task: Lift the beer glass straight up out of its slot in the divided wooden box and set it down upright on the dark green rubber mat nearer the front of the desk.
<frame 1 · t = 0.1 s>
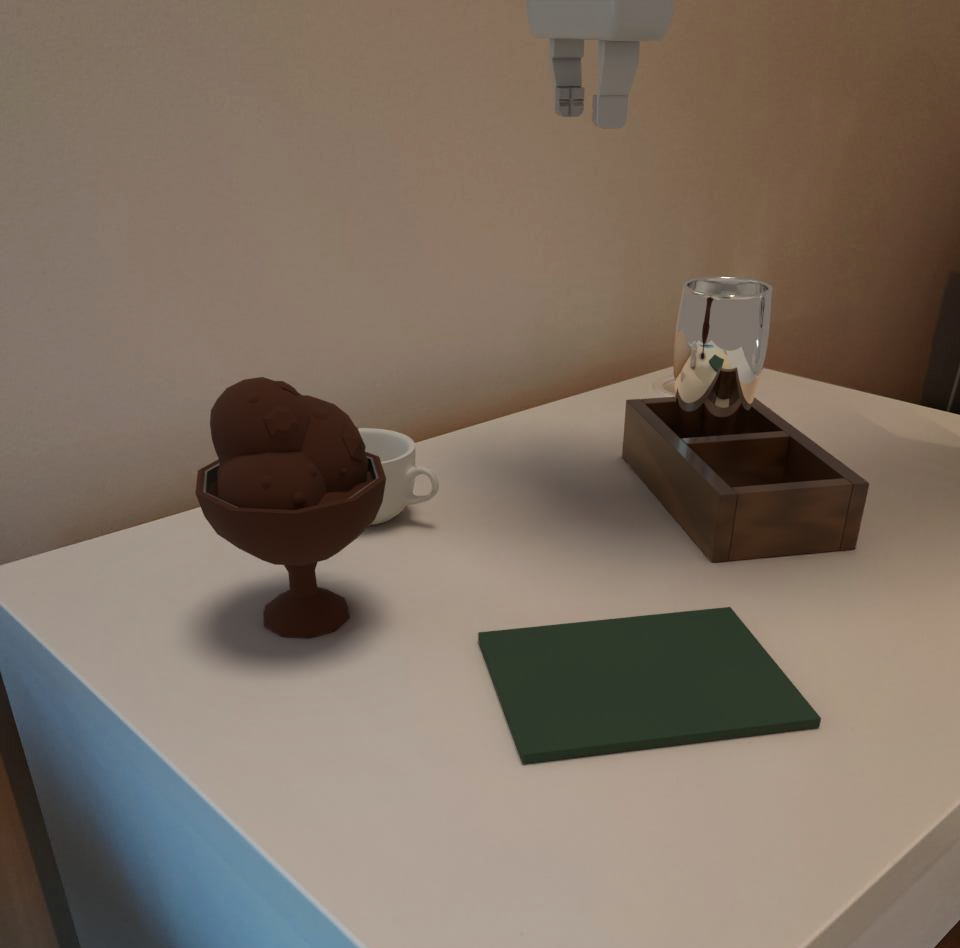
hand: (587, 121, 65), 26 cm above the table, tool pointing down, fingers open, 8 cm apart
divided wooden box: (727, 498, 78), on the table
mat: (637, 681, 56), on the table
beer glass: (704, 477, 82), resting in divided wooden box
ice cream bowl: (306, 618, 63), on the table
teacup: (379, 518, 75), on the table
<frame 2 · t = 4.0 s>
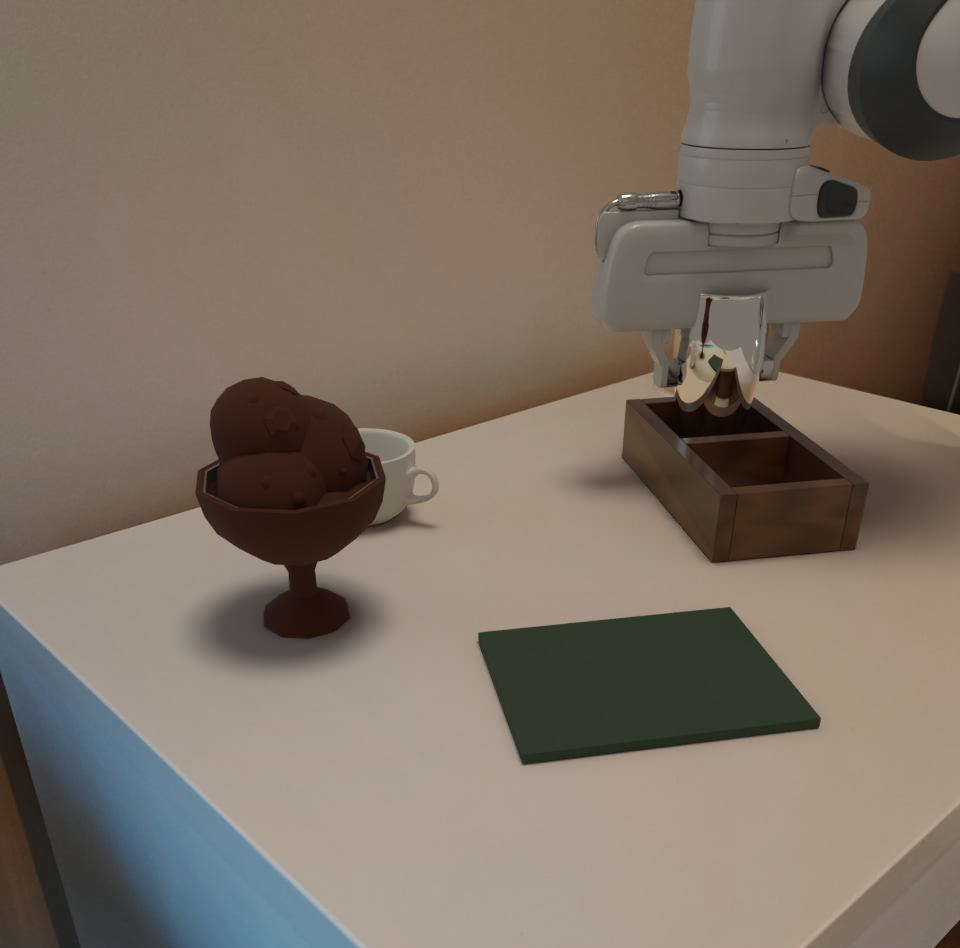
hand: (715, 382, 78), 8 cm above the table, tool pointing down, fingers closed on beer glass, 7 cm apart
beer glass: (703, 477, 82), resting in divided wooden box, touching gripper
everything else where it was.
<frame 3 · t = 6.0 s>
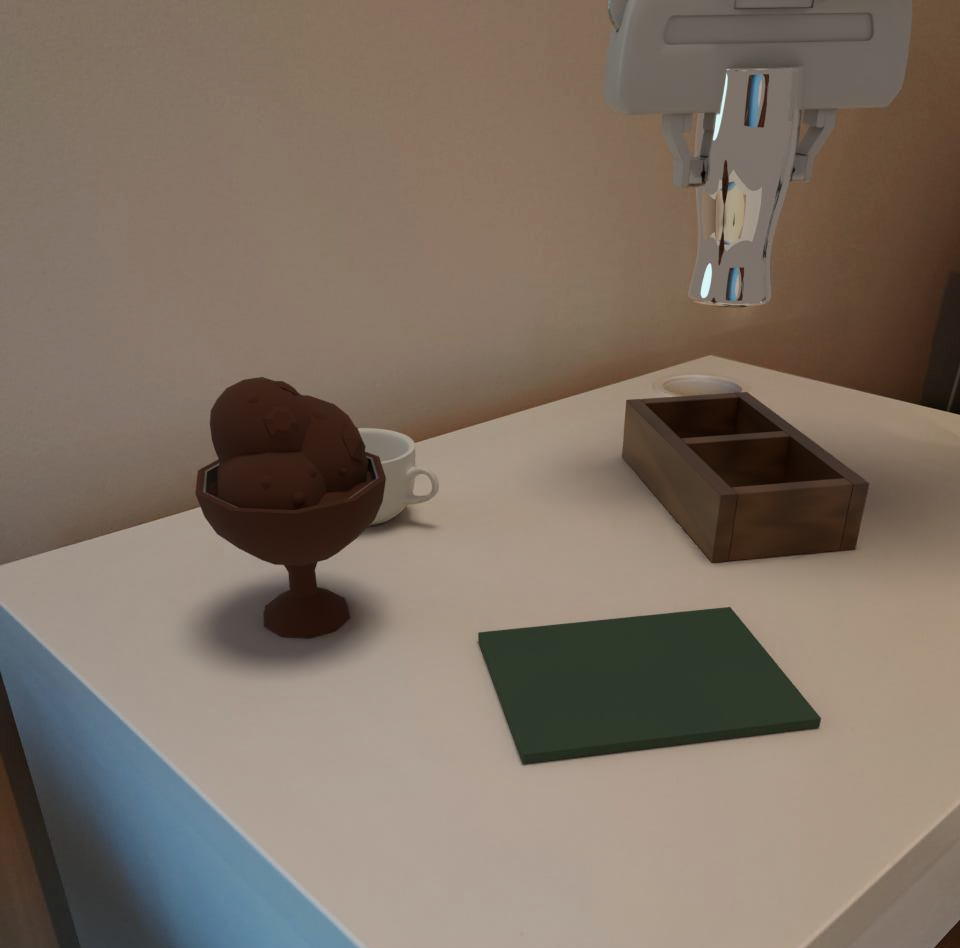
hand: (742, 184, 70), 22 cm above the table, tool pointing down, fingers closed on beer glass, 7 cm apart
beer glass: (728, 300, 74), point 14 cm above the table, touching gripper
everything else where it was.
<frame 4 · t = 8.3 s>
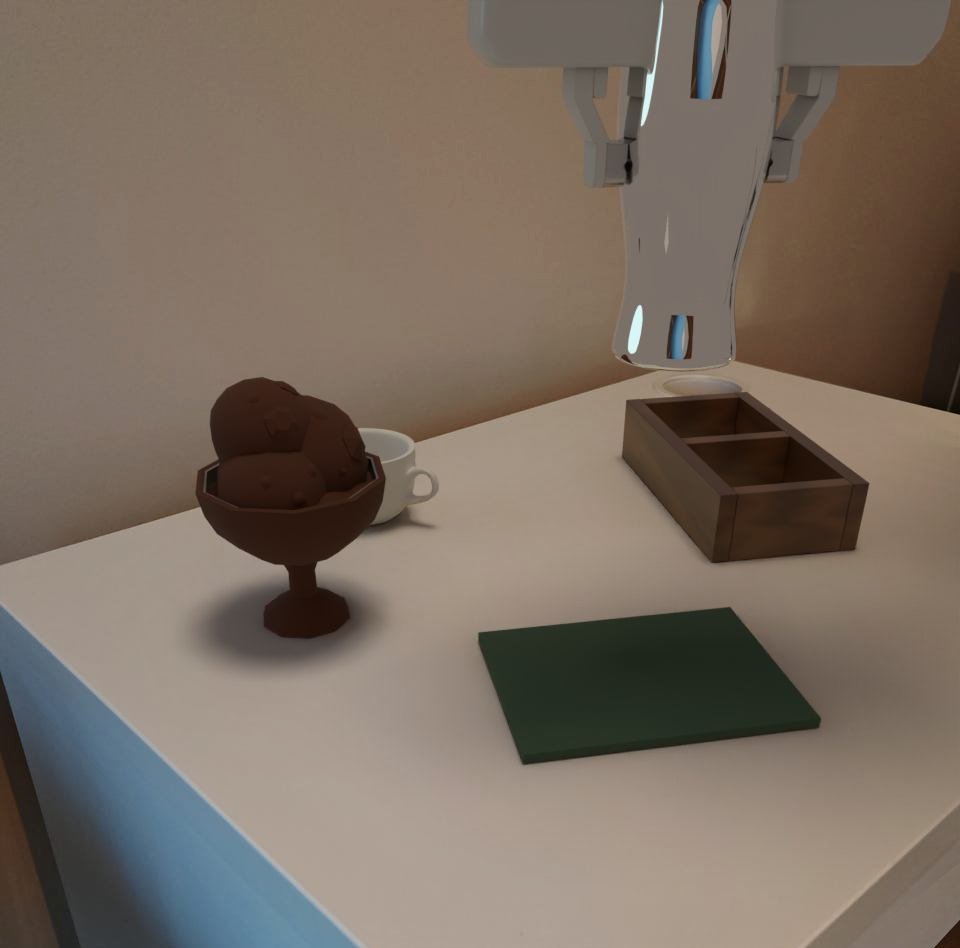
hand: (690, 184, 45), 25 cm above the table, tool pointing down, fingers closed on beer glass, 7 cm apart
beer glass: (672, 358, 49), point 17 cm above the table, touching gripper
everything else where it was.
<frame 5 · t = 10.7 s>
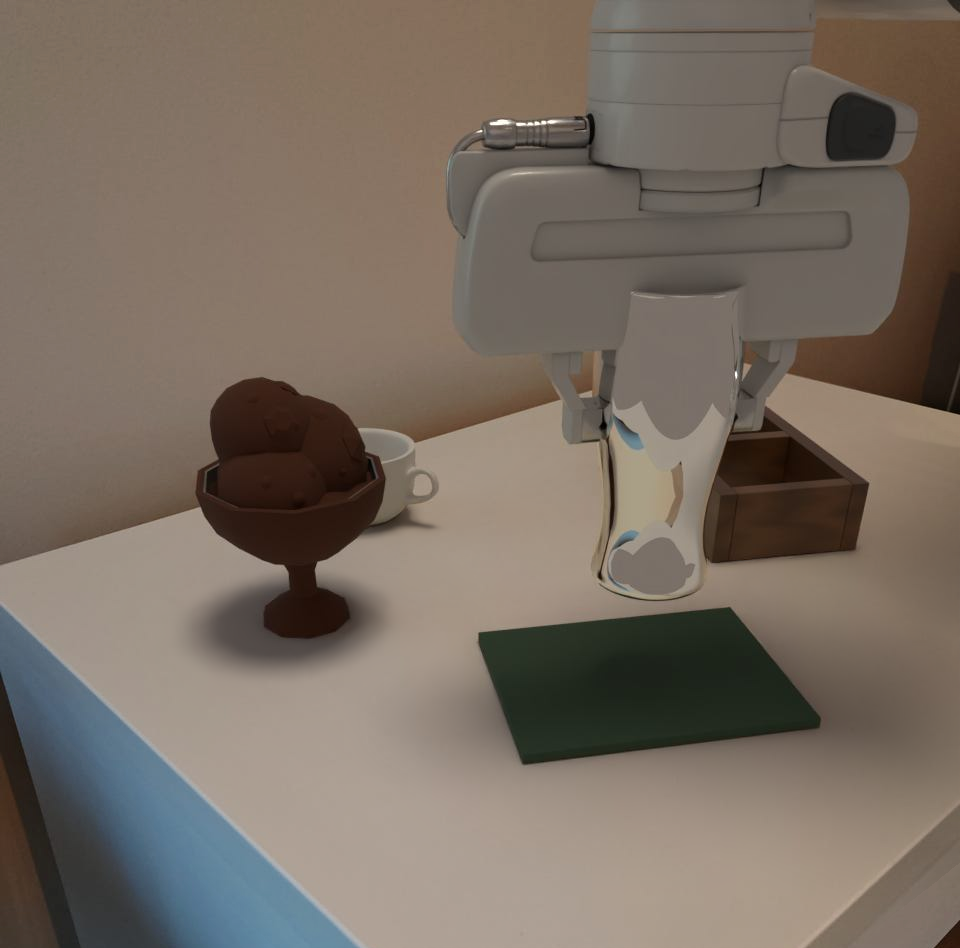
hand: (662, 434, 49), 14 cm above the table, tool pointing down, fingers closed on beer glass, 7 cm apart
beer glass: (648, 577, 53), point 7 cm above the table, touching gripper
everything else where it was.
when the fingers open (8 cm above the table, at t = 12.8 s): beer glass stays where it is, resting on mat.
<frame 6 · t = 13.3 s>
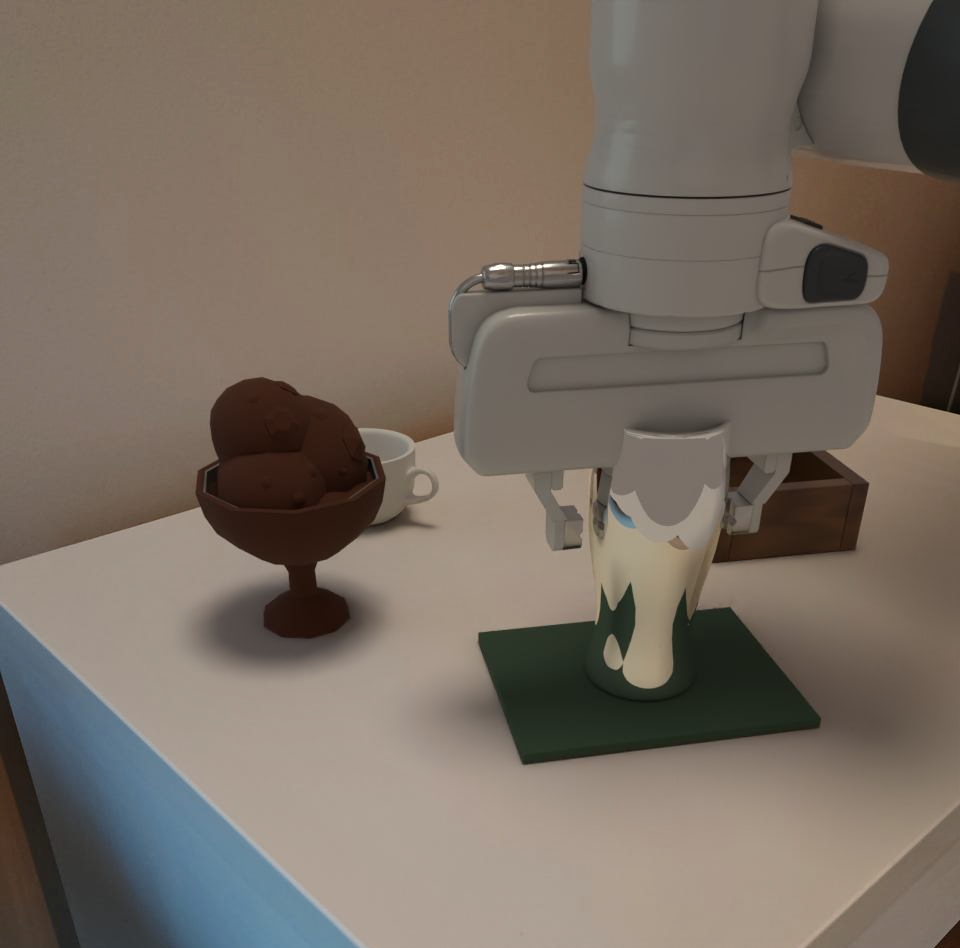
hand: (651, 537, 52), 9 cm above the table, tool pointing down, fingers open, 8 cm apart
beer glass: (639, 674, 56), resting on mat
everything else where it was.
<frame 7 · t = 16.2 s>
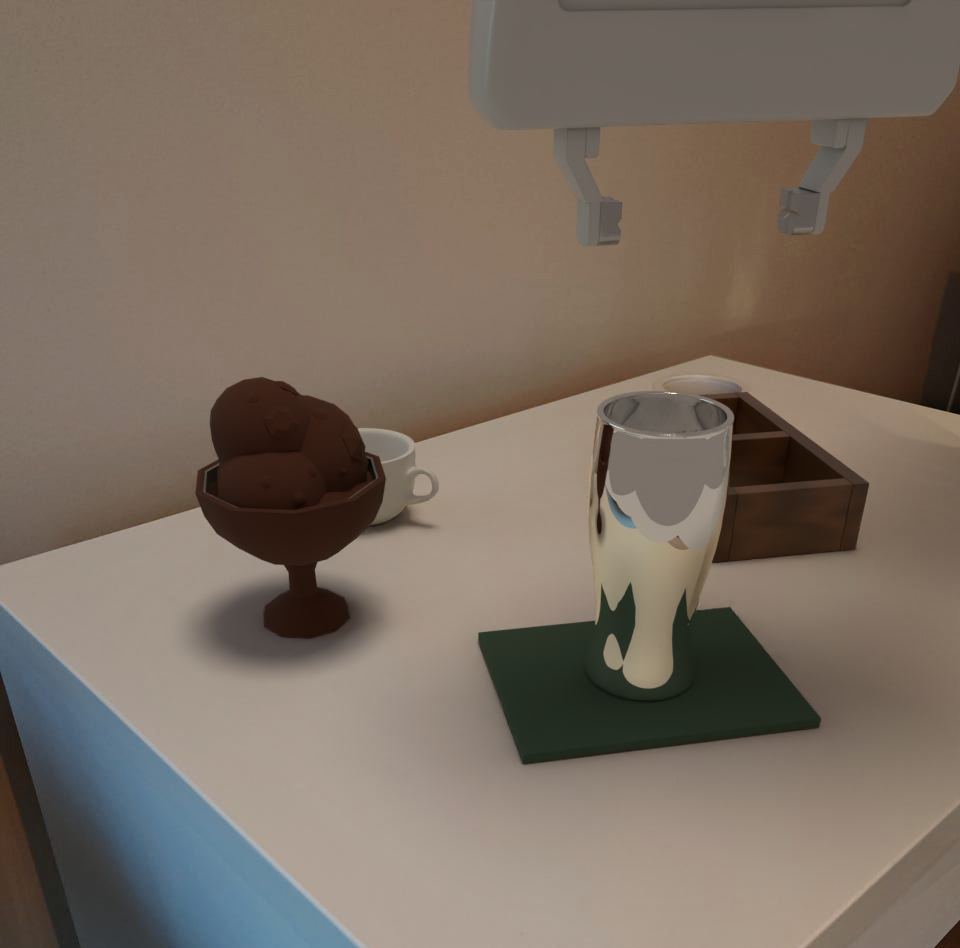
hand: (700, 238, 44), 23 cm above the table, tool pointing down, fingers open, 8 cm apart
nothing on the table moved.
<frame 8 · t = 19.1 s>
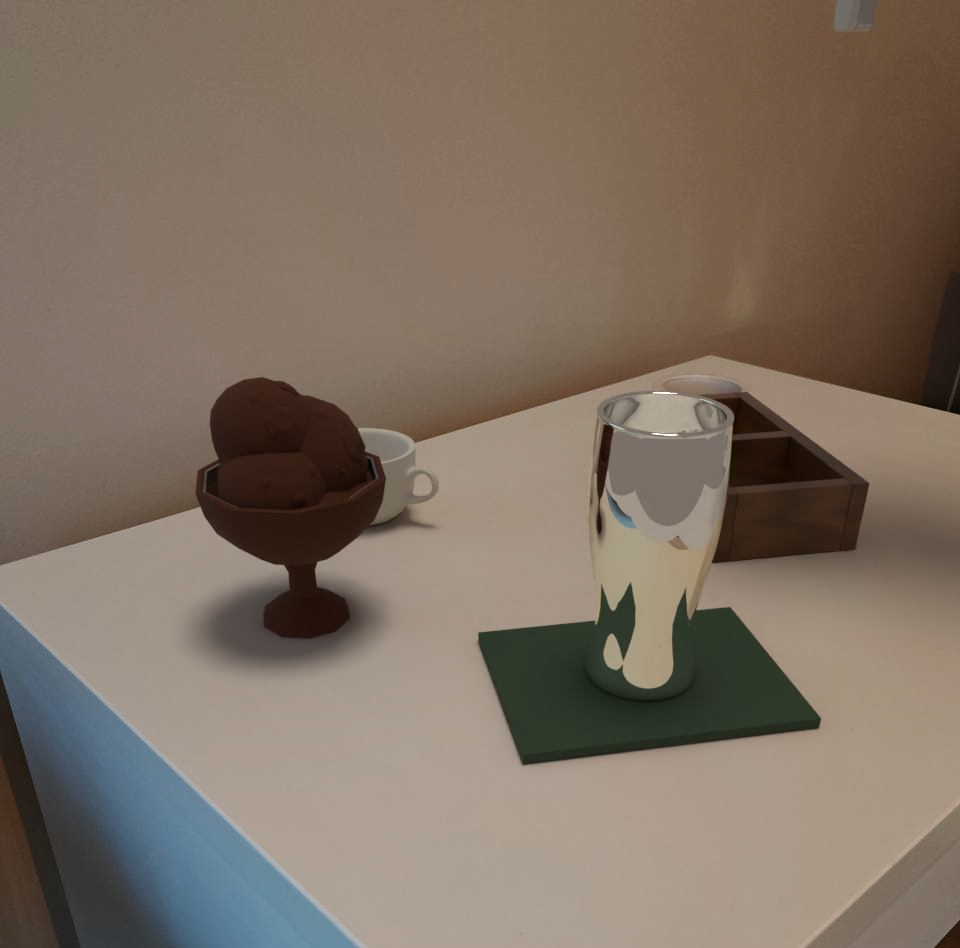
hand: (928, 31, 56), 31 cm above the table, tool pointing down, fingers open, 8 cm apart
nothing on the table moved.
at the end: beer glass inside the target area on the mat (0.1 cm from its centre), point 0.4 cm above the mat's base; beer glass tilted 0°; beer glass touching mat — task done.
